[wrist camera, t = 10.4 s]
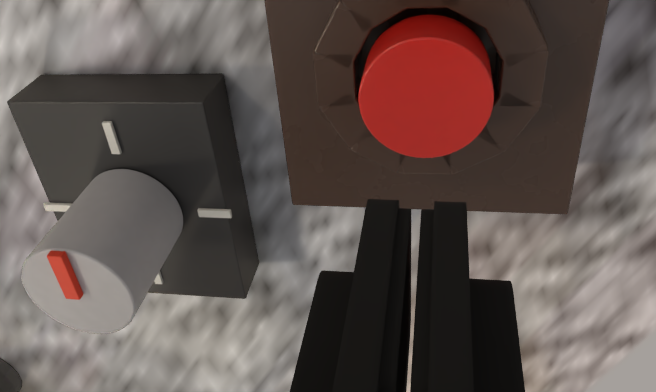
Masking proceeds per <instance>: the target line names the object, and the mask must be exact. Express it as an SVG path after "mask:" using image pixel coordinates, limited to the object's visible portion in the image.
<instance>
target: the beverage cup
mask: <svg viewBox="0 0 656 392" xmlns="http://www.w3.org/2000/svg"><path fill="white" fill-rule="evenodd" d="M21 387H22V381H21V379H20V377H19V375H18V373H17V372H16V371H15V370H14V369H13V368H12V367H11V366H10V365H9V364H7V363H6V362H5V361H3V360H1V359H0V392H19V390H20V389H21Z"/></svg>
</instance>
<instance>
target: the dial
mask: <svg viewBox="0 0 656 392" xmlns="http://www.w3.org/2000/svg"><path fill="white" fill-rule="evenodd" d="M182 229H183V214H182V210H181V208H180V205H179V203H178V201H177V200H176V198H175V197H174V196H173V194H172V193H171V192H170V191H169V190H168V189H167V188H166V187H165V186H164V185H163V184H161V183H160V182H159V181H157V180H156V179H154V178H152V177H150V176H148V175H146V174H144V173H141V172H138V171H134V170H129V169H113V170H109V171H105V172H103V173H101V174H99V175H98V176H96V177H95V178H94V179H93V180H92V181H91V182H90V184H89V185H88V186H87V187H86V188H85V189H84V191H83V192H82V193H81V194H80V195H79V197H78V198H77V199H76V200H75V201H74V203H73V204H72V205H71V206H70V207H69V209H68V210H67V211H66V212H65V213H64V214H63V216H62V217H61V218H60V219H59V220H58V222H57V223H56V224H55V225H54V226H53V228H52V229H51V230H50V231H49V232H48V233H47V235H46V236H45V237H44V238H43V239H42V241H41V242H40V243H39V244H38V245H37V247H36V248H35V249H34V250H33V251H32V253H31V254H30V255H29V256H28V257H27V258H26V260H25V262H24V263H23V266H22V271H21V278H22V283H23V286H24V288H25V291H26V292H27V294H28V296H29V297H30V299H31V300H32V301H33V302H34V303H35V305H36V306H37V307H38V308H40V309H41V310H42V311H43V312H44V313H45V314H47V315H48V316H49V317H51V318H52V319H54V320H56V321H57V322H59V323H61V324H63V325H65V326H67V327H70V328H73V329H75V330H79V331H82V332H87V333H94V334H107V333H113V332H116V331H119V330H121V329H123V328H124V327H126V326H127V325H128V324H129V323H130V322H131V321H132V319H133V317H134V316H135V314H136V312H137V310H138V309H139V307H140V305H141V303H142V301H143V300H144V298H145V296H146V294H147V293H148V291H149V289H150V287H151V285H152V284H153V282H154V280H155V278H156V277H157V275H158V273H159V271H160V269H161V268H162V266H163V264H164V262H165V260H166V259H167V257H168V255H169V253H170V252H171V250H172V248H173V246H174V244H175V243H176V241H177V239H178V237H179V236H180V234H181V232H182Z"/></svg>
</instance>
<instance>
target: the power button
mask: <svg viewBox="0 0 656 392" xmlns="http://www.w3.org/2000/svg"><path fill="white" fill-rule="evenodd" d="M358 102H359V109H360V113H361V116H362V119H363V121H364V123H365V125H366V126H367V128H368V130H369V131H370V132H371V134H372V135H373V136H374V137H375V138H376V139H377V140H378V141H379V142H380V143H382V144H383V145H384V146H386V147H387V148H389V149H391V150H393V151H395V152H397V153H400V154H403V155H406V156H410V157H416V158H434V157H441V156H444V155H448V154H451V153H453V152H456V151H458V150H460V149H462V148H464V147H465V146H466V145H468V144H469V143H471V142H472V141H473V140H474V139H475V138H476V137H477V136H478V135H479V134H480V133H481V132H482V130H483V129H484V127H485V126H486V124H487V122H488V120H489V118H490V116H491V113H492V110H493V104H494V89H493V81H492V74H491V67H490V60H489V56H488V53H487V51H486V48H485V46H484V44H483V43H482V41H481V40H480V38H479V37H478V36H477V35H476V34H475V33H474V32H473V31H472V30H471V29H470V28H469V27H467V26H466V25H464V24H463V23H461V22H459V21H457V20H455V19H452V18H449V17H446V16H440V15H429V14H427V15H418V16H413V17H409V18H406V19H403V20H401V21H399V22H397V23H395V24H394V25H392V26H391V27H389V28H388V29H387V30H385V31H384V32H383V33H382V34H381V35H380V36H379V37H378V39H377V40H376V41H375V43H374V44H373V46H372V48H371V50H370V52H369V54H368V57H367V60H366V64H365V68H364V71H363V75H362V79H361V83H360V87H359V94H358Z"/></svg>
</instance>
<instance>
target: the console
mask: <svg viewBox="0 0 656 392" xmlns="http://www.w3.org/2000/svg"><path fill="white" fill-rule="evenodd" d="M7 103H8V105H9V108H10V110H11V112H12V115H13V117H14V119H15V122H16V124H17V126H18V129H19V131H20V133H21V136H22V138H23V141H24V143H25V145H26V148H27V150H28V152H29V155H30V157H31V159H32V162H33V164H34V166H35V169H36V171H37V173H38V176H39V178H40V180H41V183H42V185H43V187H44V190H45V192H46V194H47V197H48V199H49V201H50V203H44V204H43V205H44V208H45V210H46V211H54V213H55V216H56V218H57V220H59V219H60V218H61V217H62V216H63V214H64V213H65V212H66V211H67V210H68V209H69V207H70V206H71V205H72V204H73V203H74V201H75V200H76V199H77V198H78V197H79V195H80V194H81V193H82V192H83V191H84V189H85V188H86V187H87V186H88V185H89V184H90V182H91V181H92V180H93V179H94V178H95V177H96V176H98V175H99V174H101V173H103V172H105V171H109V170H113V169H129V170H134V171H138V172H141V173H144V174H146V175H148V176H150V177H152V178H154V179H156V180H157V181H159V182H160V183H161V184H163V185H164V186H165V187H166V188H167V189H168V190H169V191H170V192H171V193H172V194H173V196H174V197H175V198H176V200H177V201H178V203H179V205H180V208H181V210H182V214H183V229H182V232H181V234H180V236H179V237H178V239H177V241H176V243H175V244H174V246H173V248H172V250H171V252H170V253H169V255H168V257H167V259H166V260H165V262H164V264H163V266H162V268H161V269H160V271H159V273H158V275H157V277H156V278H155V280H154V282H153V284H152V285H151V287H150V289H149V291H148V293H163V294H179V295H195V296H210V297H226V298H242V299H245V298H246V296H247V294H248V291H249V288H250V286H251V283H252V280H253V278H254V275H255V272H256V270H257V267H258V264H259V260H258V255H257V249H256V244H255V239H254V234H253V228H252V223H251V218H250V213H249V207H248V202H247V197H246V192H245V186H244V181H243V176H242V171H241V165H240V160H239V155H238V150H237V144H236V139H235V134H234V129H233V123H232V118H231V113H230V108H229V102H228V97H227V92H226V87H225V81H224V76H223V74H116V75H40V76H39V77H38V78H37V79H35V80H34V81H33V82H32V83H30V84H29V85H28V86H26V87H25V88H24V89H23V90H21V91H20V92H19V93H17V94H16V95H15V96H14V97H12V98H11V99H10V100H8V102H7Z"/></svg>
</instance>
